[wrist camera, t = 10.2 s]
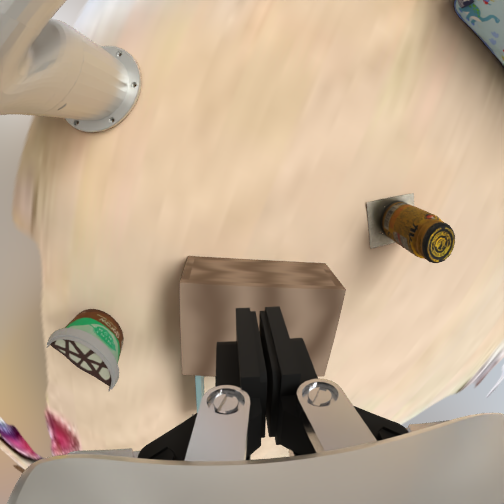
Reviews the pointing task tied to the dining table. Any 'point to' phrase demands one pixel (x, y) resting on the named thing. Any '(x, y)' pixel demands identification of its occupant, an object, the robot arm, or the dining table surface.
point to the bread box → (255, 305)
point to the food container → (92, 344)
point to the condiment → (409, 228)
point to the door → (199, 390)
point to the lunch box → (485, 22)
